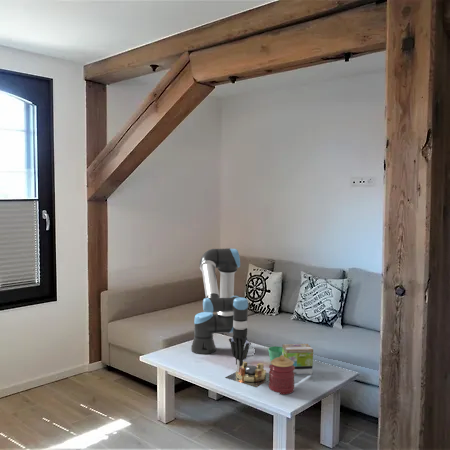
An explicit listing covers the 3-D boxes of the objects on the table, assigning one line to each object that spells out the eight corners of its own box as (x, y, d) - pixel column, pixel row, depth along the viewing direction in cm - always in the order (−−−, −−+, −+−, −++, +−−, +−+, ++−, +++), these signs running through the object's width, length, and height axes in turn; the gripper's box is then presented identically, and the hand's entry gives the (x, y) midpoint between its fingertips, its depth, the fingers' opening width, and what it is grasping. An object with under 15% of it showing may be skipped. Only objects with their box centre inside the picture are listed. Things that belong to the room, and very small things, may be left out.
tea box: (286, 376, 263) (286, 349, 262) (281, 369, 273) (281, 343, 271) (312, 375, 265) (313, 348, 264) (306, 368, 275) (307, 342, 274)
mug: (278, 370, 271) (278, 353, 270) (264, 366, 277) (264, 349, 277) (293, 364, 281) (294, 347, 280) (280, 359, 288) (280, 343, 287)
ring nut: (247, 384, 249) (248, 373, 248) (230, 374, 262) (230, 364, 261) (271, 377, 257) (271, 367, 257) (253, 368, 270) (254, 358, 270)
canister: (296, 394, 240) (297, 360, 239) (271, 395, 239) (271, 360, 238) (291, 383, 253) (292, 350, 252) (266, 384, 252) (267, 351, 251)
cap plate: (224, 379, 258) (224, 368, 257) (246, 368, 274) (246, 357, 273) (256, 389, 246) (256, 377, 245) (276, 377, 262) (277, 366, 261)
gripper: (254, 328, 254) (253, 371, 256) (234, 323, 261) (233, 365, 264) (246, 331, 248) (245, 376, 250) (226, 326, 255) (225, 370, 258)
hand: (239, 371), depth 257 cm, fingers closed
